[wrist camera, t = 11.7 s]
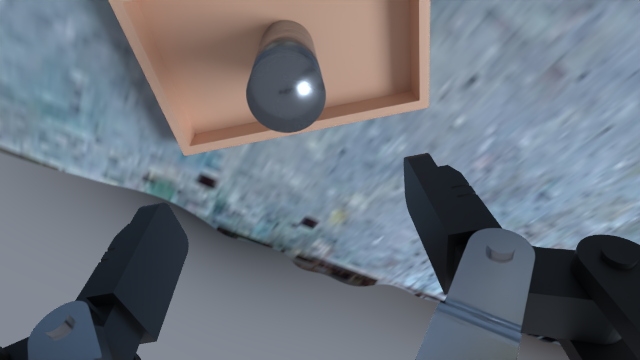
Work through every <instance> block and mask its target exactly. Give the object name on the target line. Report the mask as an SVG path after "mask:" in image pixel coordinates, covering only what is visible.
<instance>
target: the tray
mask: <svg viewBox="0 0 640 360" xmlns="http://www.w3.org/2000/svg"><path fill="white" fill-rule="evenodd" d="M108 1H109V3H110V5H111V7H112V9H113V11H114V13H115V15H116V17H117V19H118V21H119V23H120V25H121V27H122V29H123V31H124V33H125V35H126V37H127V39H128V41H129V44H130V46H131V48H132V50H133V52H134V54H135V56H136V58H137V60H138V62H139V64H140V66H141V68H142V70H143V72H144V74H145V76H146V78H147V80H148V82H149V84H150V87H151V89H152V91H153V93H154V95H155V97H156V99H157V101H158V103H159V105H160V107H161V109H162V111H163V113H164V115H165V117H166V119H167V121H168V123H169V125H170V127H171V129H172V132H173V134H174V136H175V138H176V140H177V142H178V144H179V146H180V148H181V150H182V152H183V154H184V156H186V155H191V154H197V153H202V152H207V151H212V150H217V149H222V148H227V147H232V146H237V145H242V144H247V143H252V142H257V141H262V140H267V139H272V138H277V137H282V136H287V135H292V134H297V133H302V132H307V131H313V130H318V129H323V128H328V127H333V126H338V125H343V124H348V123H353V122H358V121H363V120H368V119H373V118H378V117H383V116H388V115H393V114H398V113H403V112H408V111H413V110H418V109H423V108H428V107H429V60H430V0H108ZM281 20H291V21H295V22H297V23H299V24H301V25H302V26H303V27H305V28H306V30H307V31H308V32H309V34H310V35H311V38H312V40H313V44H314V48H315V52H316V55H317V59H318V63H319V67H320V70H321V74H322V78H323V82H324V86H325V90H326V101H325V105H324V109H323V111H322V113H321V115H320V116H319V118H318V119H317V120H316V121H315V122H314V123H313V124H312V125H310V126H309V127H307V128H305V129H303V130H301V131H297V132H292V133H282V132H277V131H273V130H271V129H269V128H267V127H265V126H263V125H262V124H261V123H260V122H258V120H257V119H256V118H255V117H254V116H253V114H252V113H251V111H250V109H249V106H248V103H247V99H246V88H247V83H248V80H249V77H250V74H251V71H252V67H253V64H254V61H255V58H256V55H257V52H258V48H259V45H260V42H261V39H262V36H263V34H264V32H265V31H266V29H267V28H268V27H269V26H270V25H272V24H273V23H275V22H278V21H281Z"/></svg>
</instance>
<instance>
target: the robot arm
mask: <svg viewBox="0 0 640 360" xmlns="http://www.w3.org/2000/svg"><path fill="white" fill-rule="evenodd" d="M404 182H405V198H406V204H407V208H408V211H409V214H410V216H411V218H412V221H413V223H414V225H415V227H416V230H417V232H418V234H419V237H420V239H421V241H422V244H423V246H424V248H425V251H426V253H427V255H428V257H429V260H430V262H431V264H432V267H433V269H434V271H435V274H436V276H437V278H438V280H439V283H440V285H441V287H442V290H443V292H444V294H447V297H446V299H445V301H444V302H443V301H440V302H439V304H438V306H437V308H436V310H435V312H434V315H433V317H432V319H431V322H430V324H429V327H428V329H427V332H426V334H425V337H424V339H423V342H422V344H421V347H420V349H419V351H418V354H417V356H416V359H415V360H517V357H518V352H519V347H520V341H521V335H522V333H527V334H534V335H541V336H547V337H554V338H557V339H558V341H559V342H560V344H561V346H562V347H563V349H564V351H565V352H566V354H567V356H568V357H569V359H570V360H640V245H639V244H637V243H635V242H632V241H630V240H627V239H624V238H621V237H617V236H611V235H593V236H588V237H586V238H584V239H582V240H581V241H580V242H579V243H578V245H577V248H576V250H565V249H552V248H541V247H535V246H531V244H530V243H529V242H528V241H527V240H526V239H525V238H523V237H522V236H520V235H519V234H517V233H515V232H512V231H509V230H506V229H502V227H501V226H500V225H499V223H498V222H497V221H496V219H495V218H494V217H493V215H492V214H491V213H490V211H489V210H488V209H487V207H486V206H485V205H484V203H483V202H482V200H481V199H480V198H479V196H478V195H476V193H475V191H474V190H473V188H472V187H471V186H469V183H468V182H467V180H466V179H465V178H464V176H463V175H462V174H461V173H460V172H459V171H457V170H455V169H454V168H452V167H450V166H448V165H445V166H440V167H438V166H437V165H436V163H435V162H434V160H433V159H432V157H431V156H430V154H429V153H425V154H419V155H414V156H409V157H405V158H404ZM187 253H188V239H187V236H186V234H185V232H184V230H183V228H182V227H181V225H180V223H179V222H178V220H177V218H176V217H175V215H174V213H173V212H172V210H171V208H170V207H169V205H168V204H166V203H158V204H153V205H147V206H143V207H141V208H139V209H138V211H137V213H136V214H135V216H134V217H133V219H132V221H131V223H130V224H128V225H127V226H126V227H125V228H124V229H122V230H121V231H120V233H119V234H117V235H116V236H115V238H114V239H113V241H112V242H111V244H110V246H109V247H108V251H107V252H105V254H104V255H103V257H102V259H101V262H99V263H98V265H97V267H96V268H95V270H94V272H93V273H92V275H91V276H90V278H89V280H88V281H87V283H86V284H85V286H84V288H83V289H82V291H81V293H80V294H79V296H78V297H77V299H76V300H75V301H72V302H69V303H66V304H64V305H62V306H60V307H58V308H56V309H55V310H53V311H52V312H50V313H49V314H48V315H46V316H45V317H44V318H43V319H42V320H41V321H40V322H39V323H38V324H37V325H36V327H35V328H34V329H33V331H32V332H31V334H30V336H29V337H27V338H25V339H23V340H21V341H18V342H16V343H14V344H11V345H9V346H7V347H5V348H2V347H0V360H141V358H140V357H139V355H138V354H137V353H136V351H137V349H138V346H139V344H143V343H149V342H155V341H157V339H158V336H159V333H160V330H161V327H162V324H163V321H164V319H165V316H166V313H167V310H168V307H169V304H170V301H171V299H172V296H173V293H174V290H175V287H176V284H177V281H178V278H179V275H180V273H181V270H182V267H183V264H184V261H185V259H186V256H187Z"/></svg>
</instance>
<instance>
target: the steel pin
mask: <svg viewBox="0 0 640 360" xmlns="http://www.w3.org/2000/svg"><path fill="white" fill-rule="evenodd" d="M246 99H247V103H248V106H249V109H250V111H251V113H252V114H253V116H254V117H255V118H256V119H257V120H258V122H260V123H261V124H262V125H263V126H265V127H267V128H269V129H271V130H273V131H277V132H282V133H292V132H297V131H301V130H303V129H305V128H307V127H309V126H310V125H312V124H313V123H314V122H315V121H316V120H317V119H318V118H319V116H320V115H321V113H322V111H323V109H324V105H325V101H326V90H325V86H324V82H323V78H322V74H321V70H320V67H319V63H318V59H317V55H316V52H315V48H314V44H313V40H312V38H311V35H310V34H309V32H308V31H307V30H306V28H305V27H303V26H302V25H301V24H299V23H297V22H295V21H291V20H281V21H278V22H275V23H273V24H272V25H270V26H269V27H268V28H267V29H266V31H265V32H264V34H263V36H262V39H261V42H260V45H259V48H258V52H257V55H256V58H255V61H254V64H253V67H252V71H251V74H250V77H249V80H248V83H247V88H246Z"/></svg>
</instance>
